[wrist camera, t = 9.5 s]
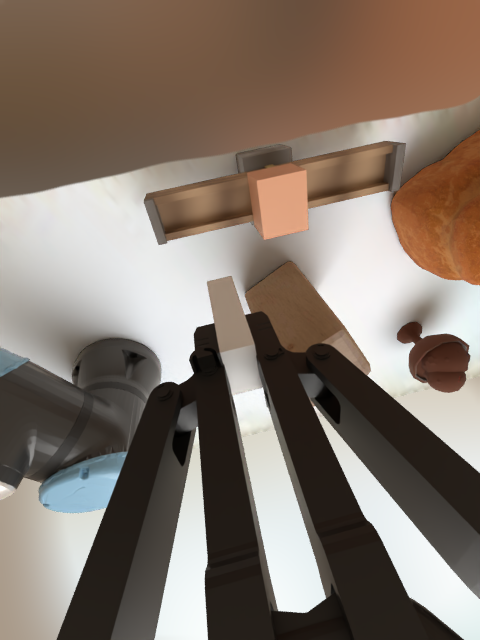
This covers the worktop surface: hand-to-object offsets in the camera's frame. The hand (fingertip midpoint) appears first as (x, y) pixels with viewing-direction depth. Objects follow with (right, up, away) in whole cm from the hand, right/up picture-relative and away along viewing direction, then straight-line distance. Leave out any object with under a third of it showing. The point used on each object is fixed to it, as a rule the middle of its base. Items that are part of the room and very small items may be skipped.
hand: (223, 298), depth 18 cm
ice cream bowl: (+37, -4, +46) cm, 59 cm away
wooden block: (+8, +3, +35) cm, 36 cm away
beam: (+4, +18, +23) cm, 30 cm away
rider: (+5, +14, +17) cm, 23 cm away
